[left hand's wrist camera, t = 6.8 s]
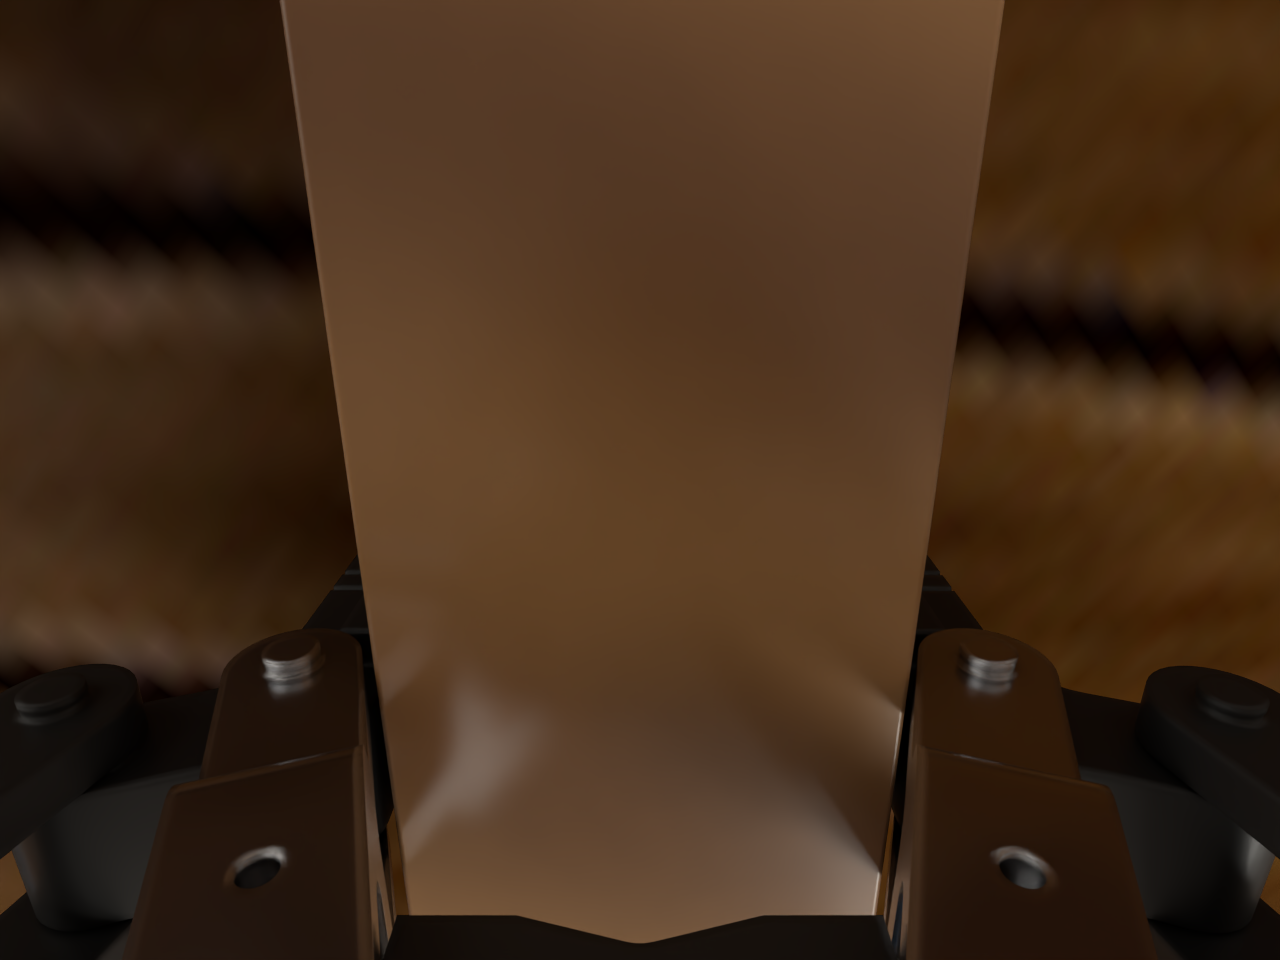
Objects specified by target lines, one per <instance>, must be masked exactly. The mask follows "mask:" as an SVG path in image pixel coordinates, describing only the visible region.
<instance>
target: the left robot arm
mask: <svg viewBox="0 0 1280 960" xmlns="http://www.w3.org/2000/svg"><path fill="white" fill-rule="evenodd" d="M891 807H892V810H893V812H894V821H893V828H892V834H891V841H890V850H889V862H888V873H887V885H886V897H885V909H884V917H883V915H762V916H758V917H754V918H750V919H746V920H741V921H737V922H733V923H729V924H725V925H721V926H717V927H712V928H708V929H704V930H700V931H696V932H692V933H688V934H683V935H679V936H675V937H671V938H667V939H663V940H659V941H654V942H649V943H631V942H626V941H621V940H617V939H613V938H609V937H605V936H601V935H597V934H592V933H588V932H584V931H580V930H576V929H572V928H568V927H563V926H559V925H555V924H551V923H547V922H543V921H539V920H534V919H530V918H526V917H522V916H518V915H397V917H396V909H395V897H394V886H393V874H392V862H391V851H390V842H389V835H388V828H387V823H388V821H389V819H390V816H391V813H392V811H393V808H394V804H393V797H392V790H391V783H390V776H389V769H388V762H387V755H386V748H385V741H384V734H383V727H382V720H381V712H380V705H379V698H378V691H377V684H376V677H375V670H374V663H373V656H372V649H371V642H370V635H369V628H368V621H367V614H366V607H365V600H364V593H363V586H362V578H361V571H360V564H359V557H358V554H357V556H356V557H355V558H354V560H353V561H352V563H351V564H350V565H349V567H348V568H347V569H346V571H345V575H342V576H341V577H340V579H339V580H338V581H337V583H336V584H335V586H334V590H331V591H330V592H329V594H328V595H327V596H326V598H325V599H324V600H323V602H322V603H321V604H320V606H319V607H318V609H317V610H316V611H315V613H314V614H313V615H312V617H311V618H310V619H309V621H308V622H307V623H306V625H305V626H304V627H303V629H301V630H294V631H289V632H284V633H281V634H278V635H274V636H271V637H269V638H266V639H263V640H261V641H259V642H257V643H255V644H253V645H251V646H249V647H247V648H246V649H244V650H242V651H241V652H240V653H239V654H237V655H236V656H235V657H234V658H233V659H232V660H231V661H230V662H229V663H228V664H227V666H226V667H225V668H224V671H223V673H222V676H221V680H220V685H219V688H217V689H213V690H208V691H204V692H199V693H193V694H188V695H183V696H177V697H172V698H166V699H161V700H156V701H150V702H145V703H143V701H142V698H141V694H140V690H139V686H138V683H137V679H136V677H135V675H134V674H133V673H132V672H131V671H130V670H128V669H126V668H124V667H121V666H117V665H110V664H88V665H79V666H73V667H67V668H63V669H59V670H55V671H51V672H48V673H45V674H42V675H39V676H36V677H34V678H31V679H29V680H26V681H24V682H22V683H19V684H17V685H15V686H13V687H11V688H9V689H7V690H6V691H4V692H2V693H0V859H1V858H2V857H4V856H5V855H6V854H7V853H9V852H10V851H11V850H12V852H13V855H14V858H15V861H16V863H17V866H18V869H19V872H20V874H21V877H22V880H23V882H24V885H25V888H26V891H27V892H26V893H25V894H24V895H23V896H22V897H21V898H19V899H18V900H17V901H16V902H15V903H14V904H12V905H11V906H10V907H9V908H8V909H7V910H6V911H4V912H3V913H2V914H1V915H0V960H1280V915H1279V914H1278V913H1277V912H1276V911H1274V910H1273V909H1272V908H1271V907H1270V906H1269V905H1268V904H1266V903H1265V902H1264V901H1263V900H1262V899H1261V898H1260V896H1261V893H1262V890H1263V888H1264V885H1265V882H1266V880H1267V877H1268V874H1269V871H1270V869H1271V866H1272V863H1273V861H1274V858H1275V856H1276V857H1278V858H1279V859H1280V694H1279V693H1278V692H1276V691H1274V690H1272V689H1270V688H1268V687H1266V686H1264V685H1262V684H1259V683H1257V682H1255V681H1252V680H1249V679H1247V678H1244V677H1241V676H1238V675H1235V674H1232V673H1228V672H1224V671H1220V670H1216V669H1210V668H1204V667H1195V666H1173V667H1166V668H1163V669H1159V670H1157V671H1155V672H1153V673H1152V674H1151V675H1150V676H1149V677H1148V679H1147V682H1146V685H1145V689H1144V693H1143V696H1142V700H1141V703H1135V702H1130V701H1124V700H1119V699H1114V698H1108V697H1103V696H1098V695H1092V694H1087V693H1082V692H1078V691H1073V690H1069V689H1066V688H1062V687H1061V685H1060V681H1059V676H1058V673H1057V671H1056V669H1055V667H1054V666H1053V664H1052V663H1051V662H1050V661H1049V660H1048V659H1047V658H1046V657H1045V656H1044V655H1043V654H1041V653H1040V652H1039V651H1037V650H1036V649H1034V648H1033V647H1031V646H1029V645H1027V644H1025V643H1023V642H1021V641H1019V640H1017V639H1014V638H1011V637H1009V636H1006V635H1002V634H999V633H995V632H991V631H986V630H983V629H982V627H981V626H980V625H979V623H978V622H977V621H976V619H975V618H974V617H973V615H972V614H971V613H970V611H969V610H968V609H967V607H966V606H965V605H964V603H963V602H962V601H961V599H960V598H959V597H958V595H957V594H956V593H955V591H951V586H950V585H949V583H948V582H947V581H946V579H945V578H944V577H943V575H940V571H939V570H938V569H937V567H936V566H935V565H934V563H933V562H932V561H931V559H930V558H929V557H928V555H927V556H926V564H925V571H924V578H923V585H922V592H921V599H920V606H919V613H918V620H917V627H916V634H915V642H914V649H913V656H912V663H911V670H910V677H909V684H908V691H907V698H906V705H905V713H904V720H903V727H902V734H901V741H900V748H899V755H898V762H897V769H896V776H895V784H894V791H893V798H892V805H891Z"/></svg>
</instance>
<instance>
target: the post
mask: <svg viewBox="0 0 1280 960" xmlns="http://www.w3.org/2000/svg"><path fill="white" fill-rule="evenodd" d="M1004 3H1005V0H280V7H281V14H282V21H283V28H284V35H285V42H286V49H287V57H288V64H289V71H290V78H291V85H292V92H293V99H294V106H295V113H296V120H297V127H298V134H299V141H300V148H301V155H302V162H303V169H304V176H305V183H306V191H307V198H308V205H309V212H310V219H311V226H312V233H313V240H314V247H315V254H316V261H317V268H318V275H319V282H320V289H321V296H322V303H323V310H324V317H325V325H326V332H327V339H328V346H329V353H330V360H331V367H332V374H333V381H334V388H335V395H336V402H337V409H338V416H339V423H340V430H341V437H342V444H343V452H344V459H345V466H346V473H347V480H348V487H349V494H350V501H351V508H352V515H353V522H354V529H355V536H356V543H357V550H358V557H359V564H360V571H361V578H362V586H363V593H364V600H365V607H366V614H367V621H368V628H369V635H370V642H371V649H372V656H373V663H374V670H375V677H376V684H377V691H378V698H379V705H380V712H381V720H382V727H383V734H384V741H385V748H386V755H387V762H388V769H389V776H390V783H391V790H392V797H393V804H394V811H395V818H396V825H397V832H398V839H399V846H400V854H401V861H402V868H403V875H404V882H405V889H406V896H407V903H408V910H409V915H518V916H522V917H526V918H530V919H534V920H539V921H543V922H547V923H551V924H555V925H559V926H563V927H568V928H572V929H576V930H580V931H584V932H588V933H592V934H597V935H601V936H605V937H609V938H613V939H617V940H621V941H626V942H631V943H649V942H654V941H659V940H663V939H667V938H671V937H675V936H679V935H683V934H688V933H692V932H696V931H700V930H704V929H708V928H712V927H717V926H721V925H725V924H729V923H733V922H737V921H741V920H746V919H750V918H754V917H758V916H762V915H876V911H877V904H878V897H879V890H880V883H881V876H882V869H883V862H884V855H885V847H886V840H887V833H888V826H889V819H890V812H891V805H892V798H893V791H894V784H895V776H896V769H897V762H898V755H899V748H900V741H901V734H902V727H903V720H904V713H905V705H906V698H907V691H908V684H909V677H910V670H911V663H912V656H913V649H914V642H915V634H916V627H917V620H918V613H919V606H920V599H921V592H922V585H923V578H924V571H925V564H926V556H927V549H928V542H929V535H930V528H931V521H932V514H933V507H934V500H935V493H936V485H937V478H938V471H939V464H940V457H941V450H942V443H943V436H944V429H945V422H946V414H947V407H948V400H949V393H950V386H951V379H952V372H953V365H954V358H955V351H956V343H957V336H958V329H959V322H960V315H961V308H962V301H963V294H964V287H965V280H966V272H967V265H968V258H969V251H970V244H971V237H972V230H973V223H974V216H975V209H976V201H977V194H978V187H979V180H980V173H981V166H982V159H983V152H984V145H985V138H986V130H987V123H988V116H989V109H990V102H991V95H992V88H993V81H994V74H995V67H996V59H997V52H998V45H999V38H1000V31H1001V24H1002V17H1003V10H1004Z"/></svg>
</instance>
